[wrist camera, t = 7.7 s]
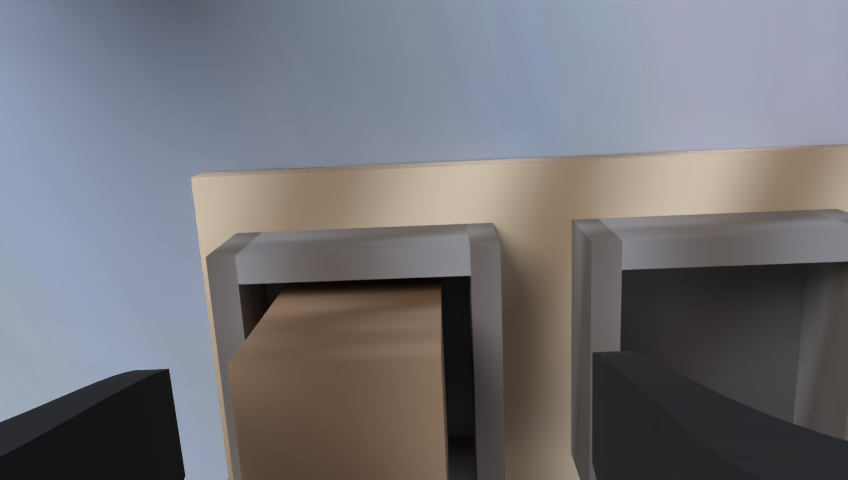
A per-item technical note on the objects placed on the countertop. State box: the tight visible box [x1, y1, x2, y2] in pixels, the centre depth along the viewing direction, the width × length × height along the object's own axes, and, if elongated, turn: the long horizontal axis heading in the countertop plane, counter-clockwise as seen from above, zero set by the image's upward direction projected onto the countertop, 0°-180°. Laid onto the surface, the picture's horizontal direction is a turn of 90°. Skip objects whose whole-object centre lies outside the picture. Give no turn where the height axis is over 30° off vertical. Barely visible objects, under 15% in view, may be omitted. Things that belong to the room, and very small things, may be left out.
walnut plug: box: [227, 277, 448, 480], centre depth 16 cm, size 4×4×6 cm
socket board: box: [191, 144, 848, 480], centre depth 19 cm, size 18×12×4 cm, turn 93°
